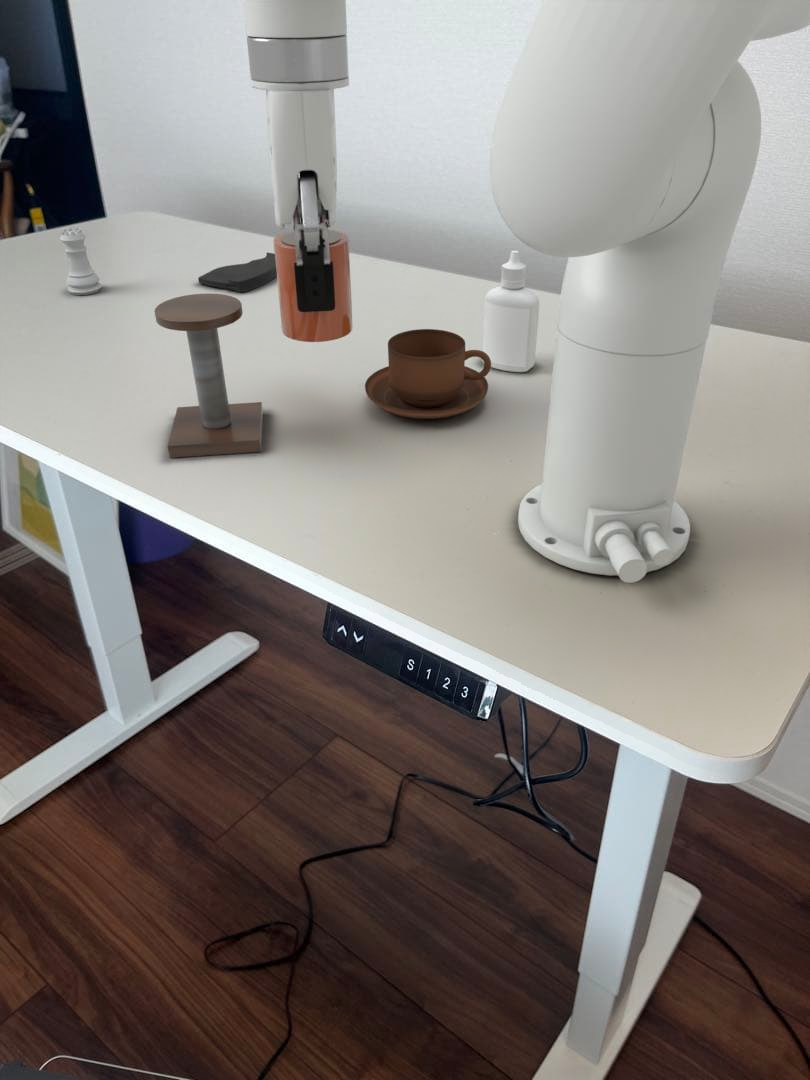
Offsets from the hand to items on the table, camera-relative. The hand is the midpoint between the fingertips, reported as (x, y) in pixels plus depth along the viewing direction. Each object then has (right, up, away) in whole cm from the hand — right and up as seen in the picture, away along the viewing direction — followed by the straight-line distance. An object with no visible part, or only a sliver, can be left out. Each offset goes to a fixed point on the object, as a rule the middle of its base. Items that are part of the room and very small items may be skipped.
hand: (315, 294), depth 73 cm
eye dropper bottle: (+19, -3, +16) cm, 25 cm away
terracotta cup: (0, -3, +2) cm, 3 cm away
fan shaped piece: (-14, +15, +43) cm, 47 cm away
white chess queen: (-36, +12, +39) cm, 54 cm away
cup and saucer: (+10, -8, +8) cm, 16 cm away
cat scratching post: (-9, -12, +3) cm, 15 cm away
